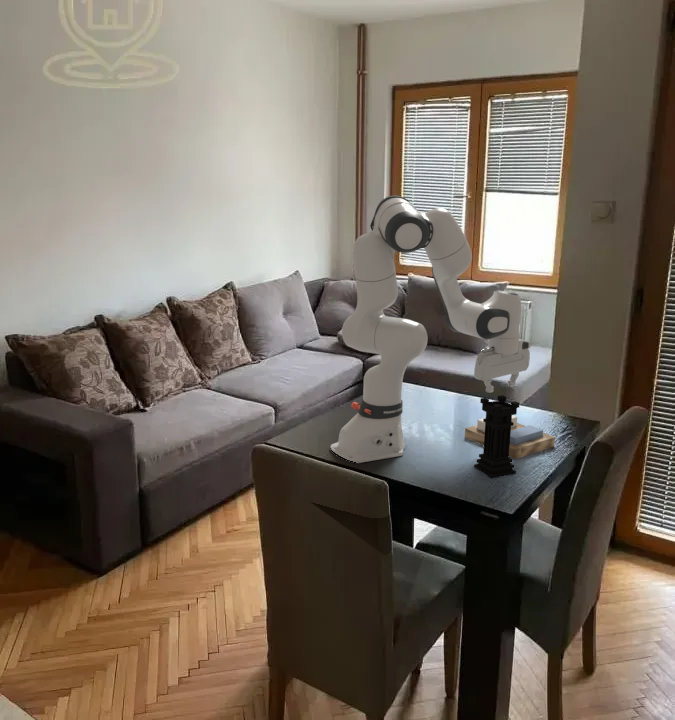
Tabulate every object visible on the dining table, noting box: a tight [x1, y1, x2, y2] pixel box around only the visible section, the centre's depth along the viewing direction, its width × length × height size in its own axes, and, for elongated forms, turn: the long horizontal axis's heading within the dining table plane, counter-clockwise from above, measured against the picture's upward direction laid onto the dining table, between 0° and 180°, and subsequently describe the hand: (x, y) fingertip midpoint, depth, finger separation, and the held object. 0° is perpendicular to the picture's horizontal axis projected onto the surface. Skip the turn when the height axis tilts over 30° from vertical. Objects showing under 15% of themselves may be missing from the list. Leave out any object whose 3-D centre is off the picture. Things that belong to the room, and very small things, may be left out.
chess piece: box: [473, 395, 520, 479], centre depth 182 cm, size 8×8×20 cm
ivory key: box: [476, 415, 518, 432], centre depth 208 cm, size 12×5×3 cm, turn 125°
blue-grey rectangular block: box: [510, 425, 544, 445], centre depth 200 cm, size 12×5×3 cm, turn 125°
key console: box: [464, 422, 556, 460], centre depth 205 cm, size 17×20×3 cm
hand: (500, 389), depth 205 cm, fingers open, 8 cm apart
